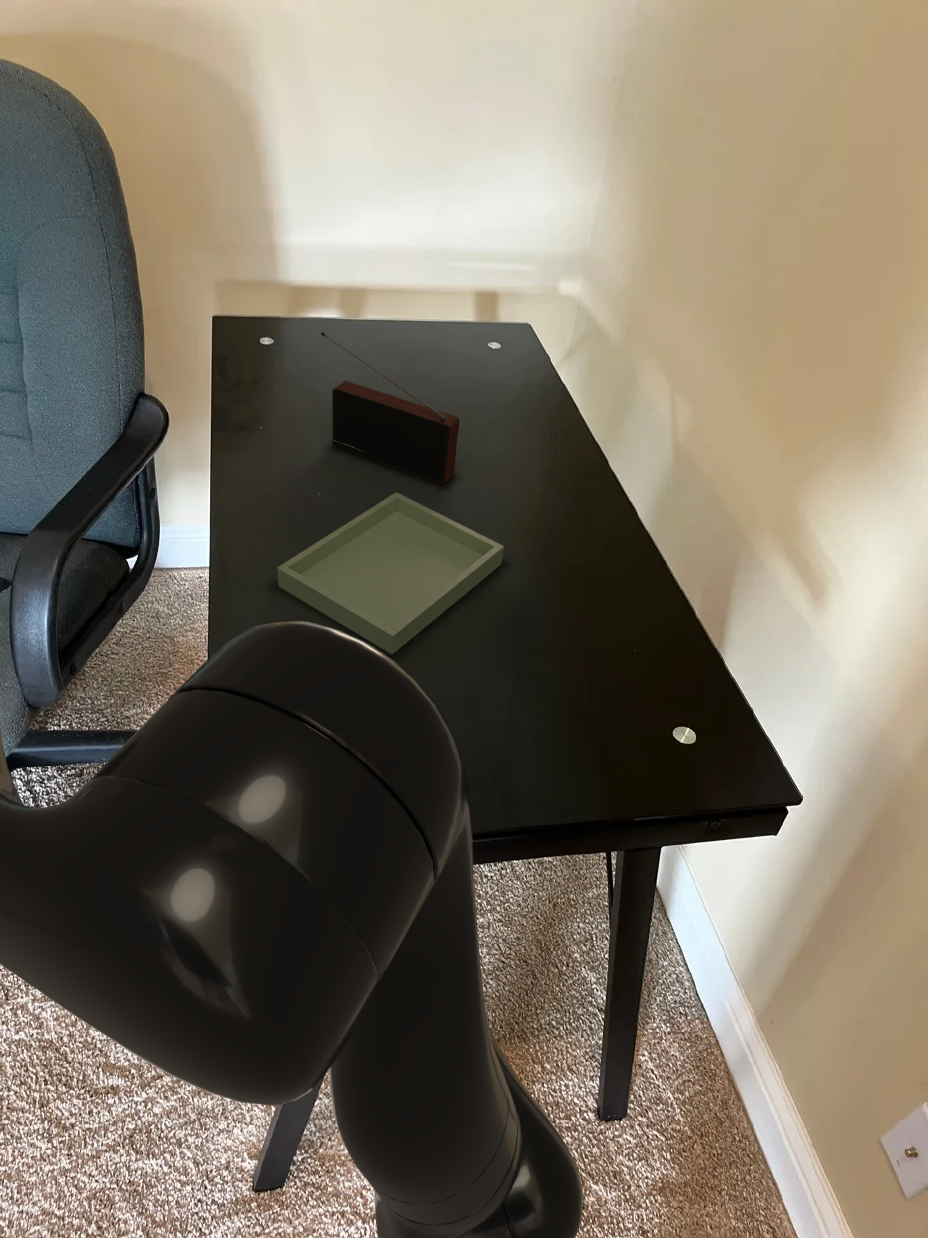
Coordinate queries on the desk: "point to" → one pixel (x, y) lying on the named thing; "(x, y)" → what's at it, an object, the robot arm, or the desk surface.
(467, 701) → the desk surface
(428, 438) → the radio
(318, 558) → the tray
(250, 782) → the robot arm
